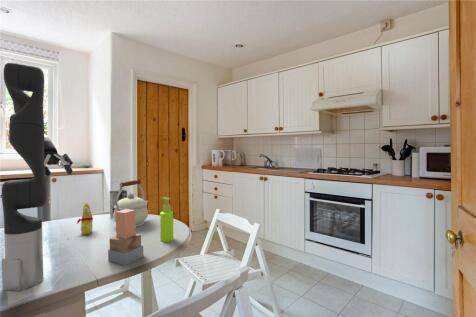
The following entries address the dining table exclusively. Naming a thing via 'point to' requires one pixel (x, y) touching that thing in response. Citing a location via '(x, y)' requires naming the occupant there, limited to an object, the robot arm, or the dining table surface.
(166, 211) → the soap dispenser
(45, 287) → the dining table surface
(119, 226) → the pillar
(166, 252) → the dining table surface
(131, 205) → the kettle
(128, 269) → the dining table surface
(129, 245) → the tower top
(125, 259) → the tower base
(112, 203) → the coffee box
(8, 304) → the dining table surface
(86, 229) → the chocolate bunny
